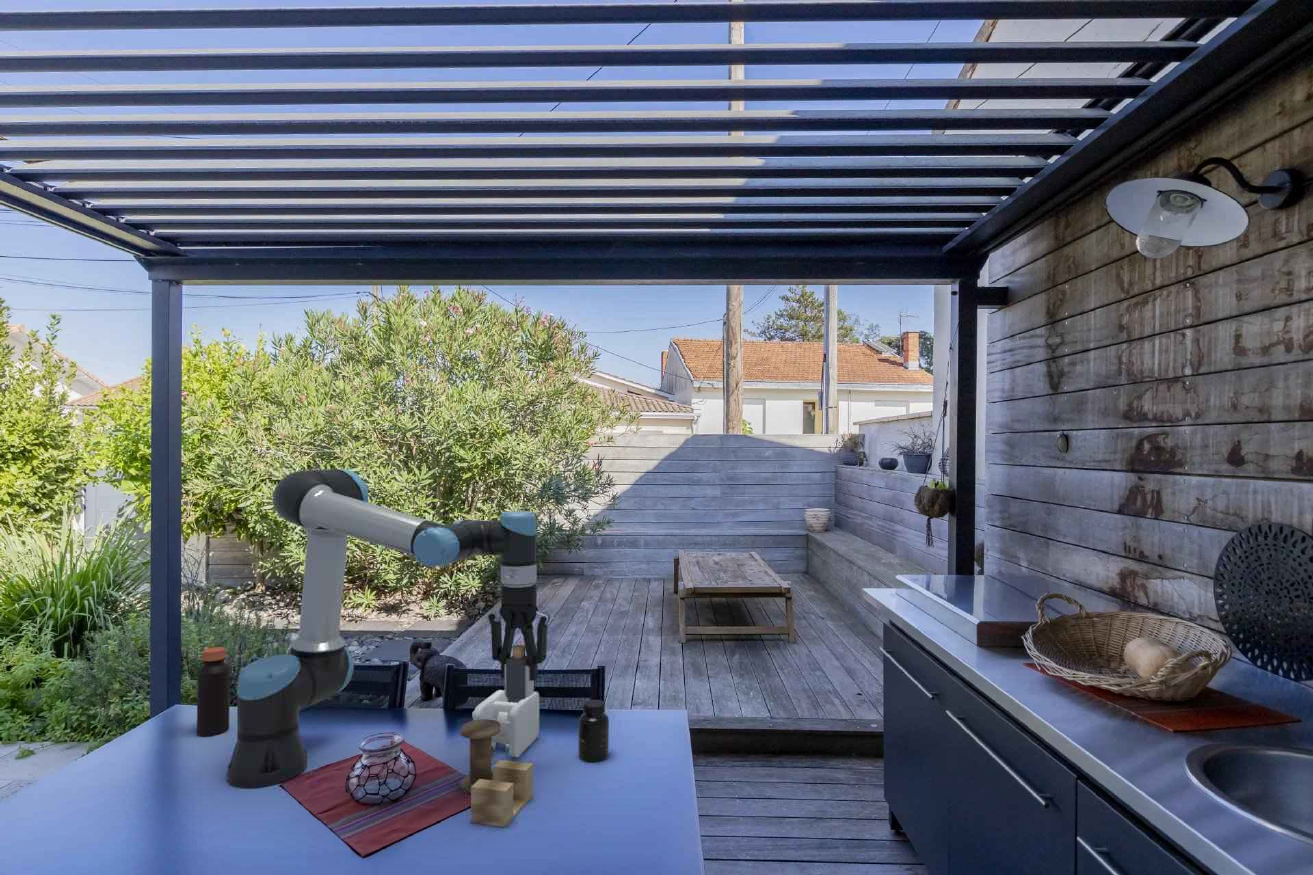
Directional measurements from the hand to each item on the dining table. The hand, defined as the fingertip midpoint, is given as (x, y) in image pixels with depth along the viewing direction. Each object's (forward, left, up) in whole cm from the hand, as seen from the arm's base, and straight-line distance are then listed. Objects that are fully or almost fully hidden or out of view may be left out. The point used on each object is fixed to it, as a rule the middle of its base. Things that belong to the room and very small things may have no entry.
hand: (519, 694), depth 153 cm
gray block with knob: (0, 0, 0) cm, 0 cm away
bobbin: (-6, -6, -17) cm, 19 cm away
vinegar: (-83, +3, -17) cm, 85 cm away
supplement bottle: (+12, +13, -17) cm, 25 cm away
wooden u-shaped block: (+3, -14, -17) cm, 22 cm away
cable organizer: (-9, +12, -18) cm, 23 cm away
